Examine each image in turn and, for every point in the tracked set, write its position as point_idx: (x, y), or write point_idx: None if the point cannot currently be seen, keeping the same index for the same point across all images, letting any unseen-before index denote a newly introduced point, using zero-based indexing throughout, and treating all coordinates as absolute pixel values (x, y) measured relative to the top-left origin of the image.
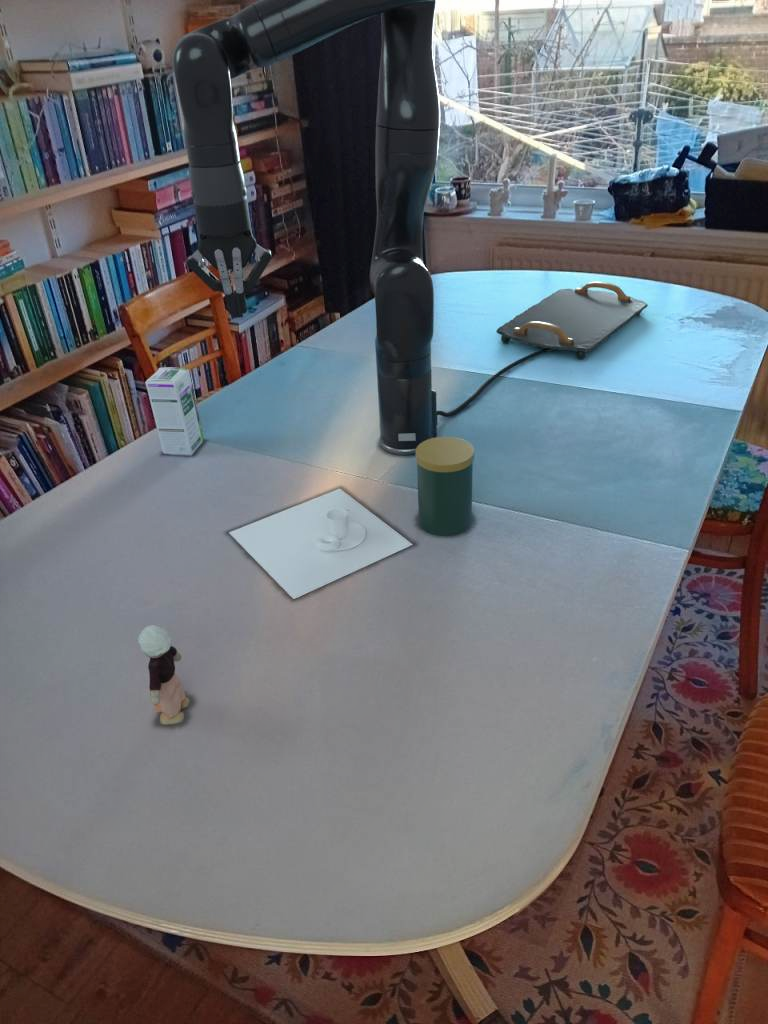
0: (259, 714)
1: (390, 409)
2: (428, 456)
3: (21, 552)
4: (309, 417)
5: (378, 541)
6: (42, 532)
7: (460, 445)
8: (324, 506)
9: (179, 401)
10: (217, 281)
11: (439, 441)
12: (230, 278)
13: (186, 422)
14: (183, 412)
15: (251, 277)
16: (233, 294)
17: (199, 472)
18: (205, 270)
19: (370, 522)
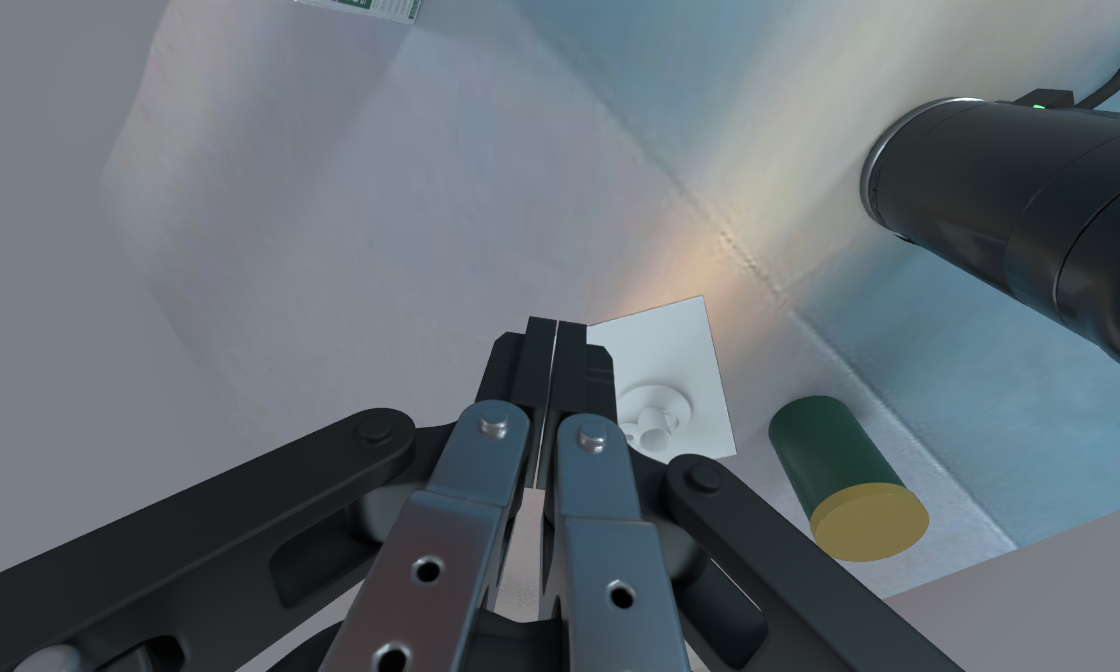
0: (509, 579)
1: (935, 247)
2: (832, 534)
3: (170, 294)
4: None
5: (697, 436)
6: (177, 248)
7: (907, 527)
8: (656, 337)
9: (338, 9)
10: (389, 519)
11: (885, 506)
12: (511, 499)
13: (379, 8)
14: (362, 9)
15: (687, 625)
16: (526, 487)
17: (438, 126)
18: (226, 634)
19: (707, 396)
